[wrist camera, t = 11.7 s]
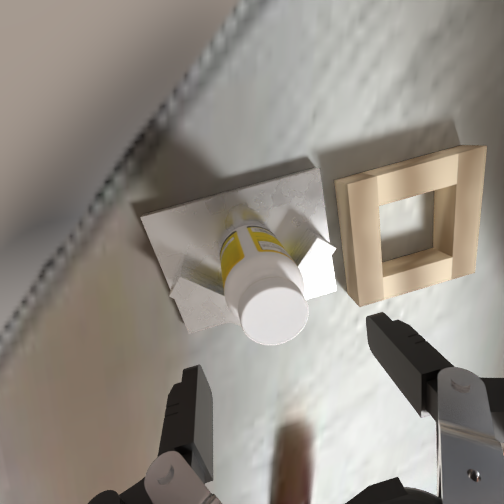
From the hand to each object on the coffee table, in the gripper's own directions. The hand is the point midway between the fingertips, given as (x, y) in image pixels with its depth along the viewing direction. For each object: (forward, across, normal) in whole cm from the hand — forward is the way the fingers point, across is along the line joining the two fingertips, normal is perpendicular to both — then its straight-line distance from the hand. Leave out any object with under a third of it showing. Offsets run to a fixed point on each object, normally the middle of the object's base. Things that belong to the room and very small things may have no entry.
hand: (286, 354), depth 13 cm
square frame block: (+14, -15, +2) cm, 20 cm away
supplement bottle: (+13, 0, 0) cm, 13 cm away
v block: (+14, 0, 0) cm, 14 cm away
